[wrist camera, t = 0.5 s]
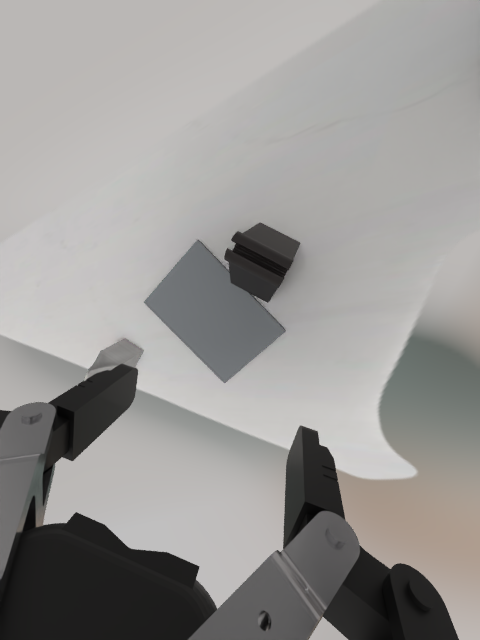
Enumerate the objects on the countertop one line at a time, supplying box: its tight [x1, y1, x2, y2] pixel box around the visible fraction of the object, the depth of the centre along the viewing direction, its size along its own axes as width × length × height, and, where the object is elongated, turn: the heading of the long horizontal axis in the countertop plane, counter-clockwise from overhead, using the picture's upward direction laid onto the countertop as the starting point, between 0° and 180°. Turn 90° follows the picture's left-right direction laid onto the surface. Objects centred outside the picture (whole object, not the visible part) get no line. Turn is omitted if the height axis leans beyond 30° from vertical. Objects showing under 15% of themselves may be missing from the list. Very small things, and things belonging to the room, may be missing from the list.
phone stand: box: [225, 223, 300, 302], centre depth 29 cm, size 9×6×12 cm, turn 153°
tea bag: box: [84, 339, 144, 381], centre depth 38 cm, size 4×7×10 cm, turn 149°
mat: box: [144, 240, 285, 383], centre depth 38 cm, size 13×18×1 cm
